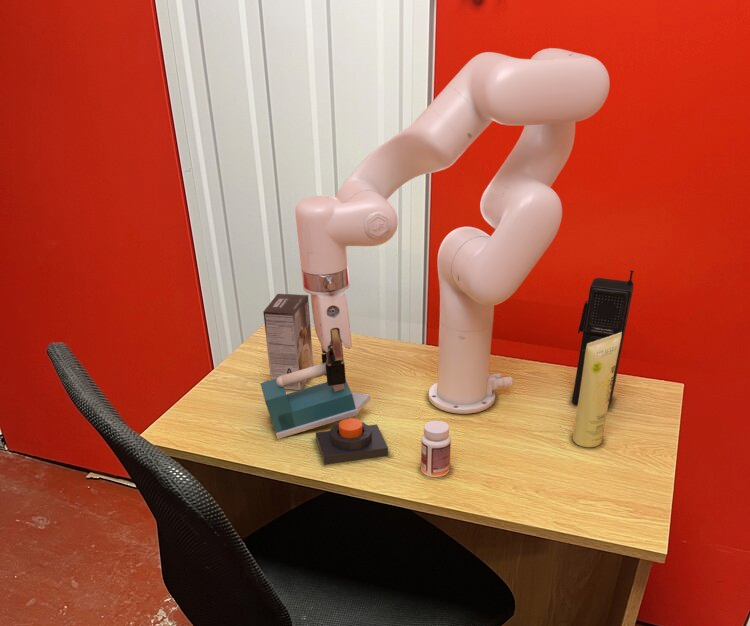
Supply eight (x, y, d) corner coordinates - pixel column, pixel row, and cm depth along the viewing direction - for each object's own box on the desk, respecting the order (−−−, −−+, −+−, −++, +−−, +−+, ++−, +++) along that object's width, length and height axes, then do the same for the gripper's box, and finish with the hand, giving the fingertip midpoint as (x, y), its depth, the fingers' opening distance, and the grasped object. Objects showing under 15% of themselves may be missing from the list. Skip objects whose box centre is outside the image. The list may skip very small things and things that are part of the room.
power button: (359, 425, 134) (359, 416, 133) (364, 437, 131) (364, 428, 130) (337, 428, 133) (336, 419, 132) (341, 440, 130) (341, 431, 129)
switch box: (376, 432, 138) (376, 415, 136) (387, 456, 132) (387, 438, 130) (316, 440, 136) (314, 423, 134) (324, 465, 130) (323, 447, 128)
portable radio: (565, 404, 145) (585, 273, 130) (571, 389, 150) (591, 262, 135) (608, 411, 143) (633, 279, 128) (613, 396, 147) (637, 267, 132)
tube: (600, 452, 132) (620, 346, 120) (569, 447, 133) (586, 342, 122) (602, 435, 136) (622, 331, 125) (573, 431, 137) (590, 328, 126)
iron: (366, 389, 144) (354, 339, 137) (375, 409, 138) (363, 357, 131) (272, 418, 143) (255, 368, 136) (277, 439, 137) (260, 388, 130)
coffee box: (284, 367, 159) (277, 292, 149) (314, 370, 158) (309, 294, 148) (270, 388, 152) (262, 310, 142) (302, 391, 151) (295, 313, 141)
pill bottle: (453, 466, 129) (456, 422, 124) (442, 480, 126) (445, 436, 121) (427, 459, 131) (428, 416, 126) (415, 473, 127) (416, 430, 122)
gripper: (359, 293, 120) (365, 397, 131) (338, 258, 133) (345, 355, 144) (311, 300, 119) (322, 404, 130) (294, 263, 131) (305, 361, 142)
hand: (334, 378), depth 137 cm, fingers closed on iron, 3 cm apart
